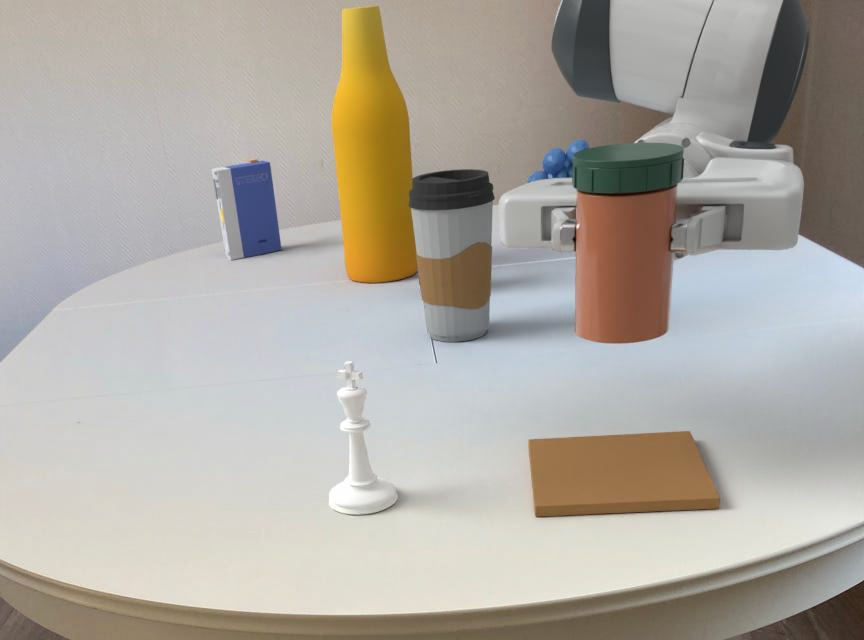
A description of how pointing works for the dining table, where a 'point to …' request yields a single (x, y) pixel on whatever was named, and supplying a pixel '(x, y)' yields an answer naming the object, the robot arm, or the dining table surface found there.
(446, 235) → the coffee cup
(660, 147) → the lid
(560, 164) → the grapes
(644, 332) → the jar
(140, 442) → the dining table surface
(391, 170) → the beer bottle
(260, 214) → the walkman
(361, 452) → the chess piece
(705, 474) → the mat
